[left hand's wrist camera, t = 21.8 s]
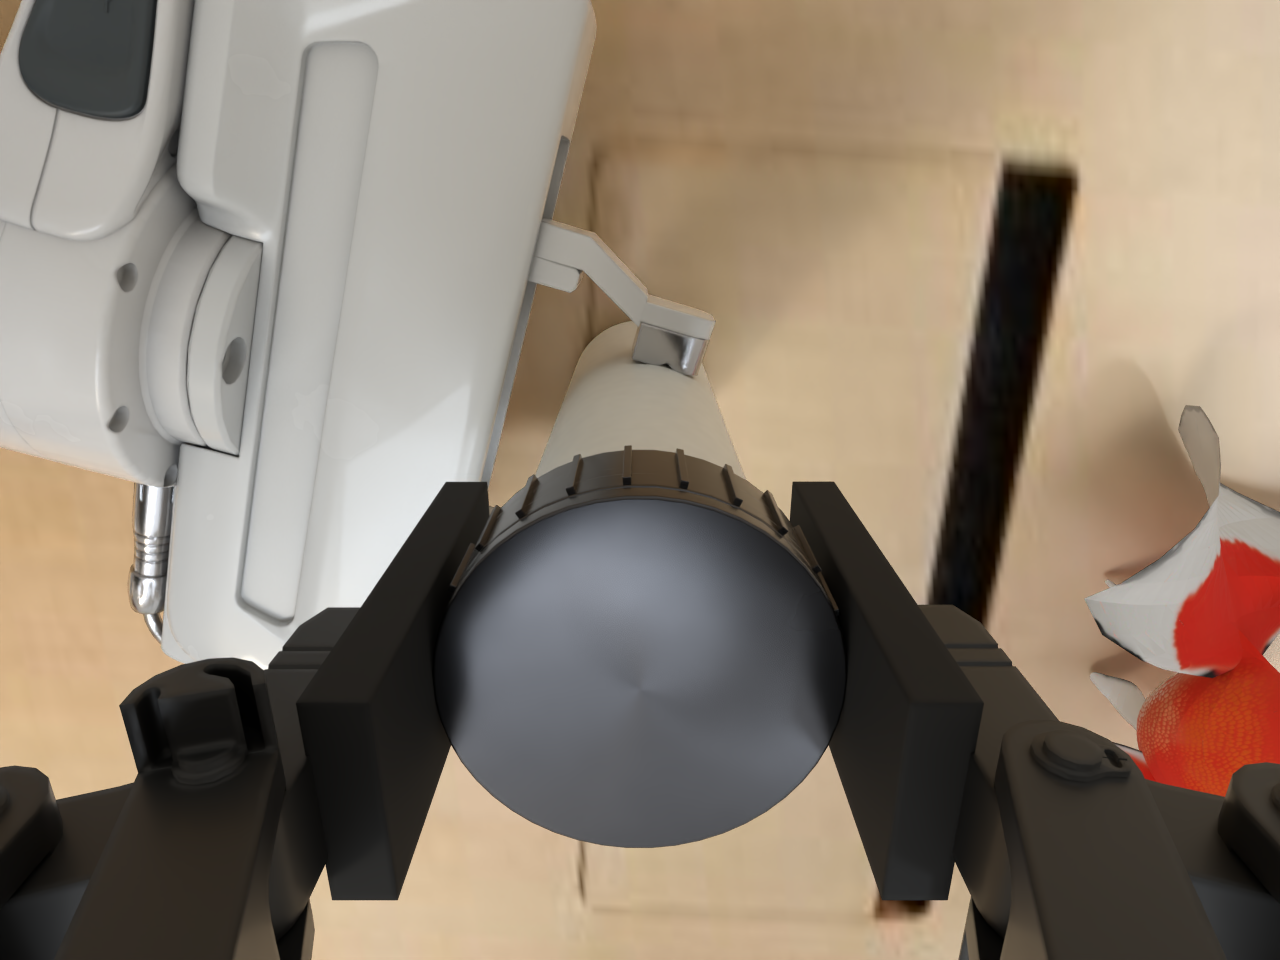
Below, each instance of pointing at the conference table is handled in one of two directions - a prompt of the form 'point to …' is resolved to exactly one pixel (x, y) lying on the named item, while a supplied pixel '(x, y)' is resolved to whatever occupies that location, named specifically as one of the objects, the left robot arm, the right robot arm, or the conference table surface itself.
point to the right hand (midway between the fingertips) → (672, 449)
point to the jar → (635, 408)
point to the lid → (640, 652)
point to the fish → (1202, 636)
